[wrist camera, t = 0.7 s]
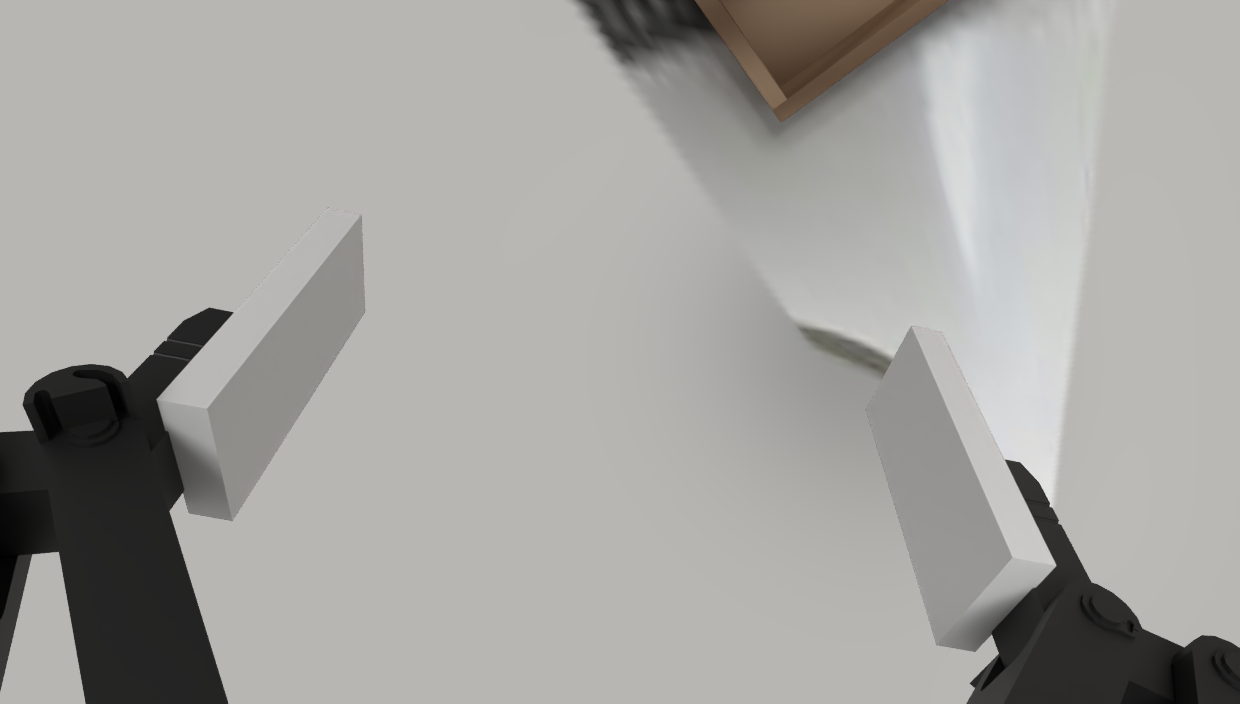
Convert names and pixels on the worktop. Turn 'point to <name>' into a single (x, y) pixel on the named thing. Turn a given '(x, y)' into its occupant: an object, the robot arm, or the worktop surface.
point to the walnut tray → (808, 40)
